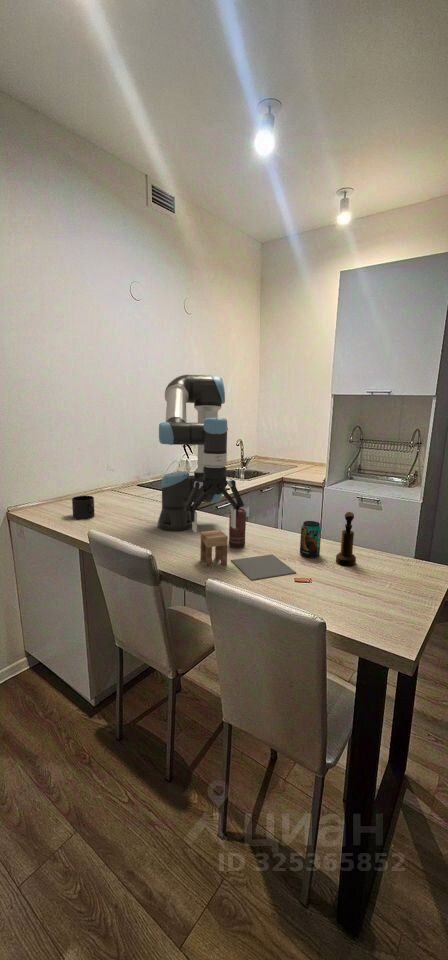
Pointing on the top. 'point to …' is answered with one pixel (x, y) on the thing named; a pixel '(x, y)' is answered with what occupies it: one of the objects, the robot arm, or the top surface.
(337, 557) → the dark brown chess piece
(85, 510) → the mug
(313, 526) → the beverage can
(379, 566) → the top surface
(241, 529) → the can
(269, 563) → the mat
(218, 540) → the stool
